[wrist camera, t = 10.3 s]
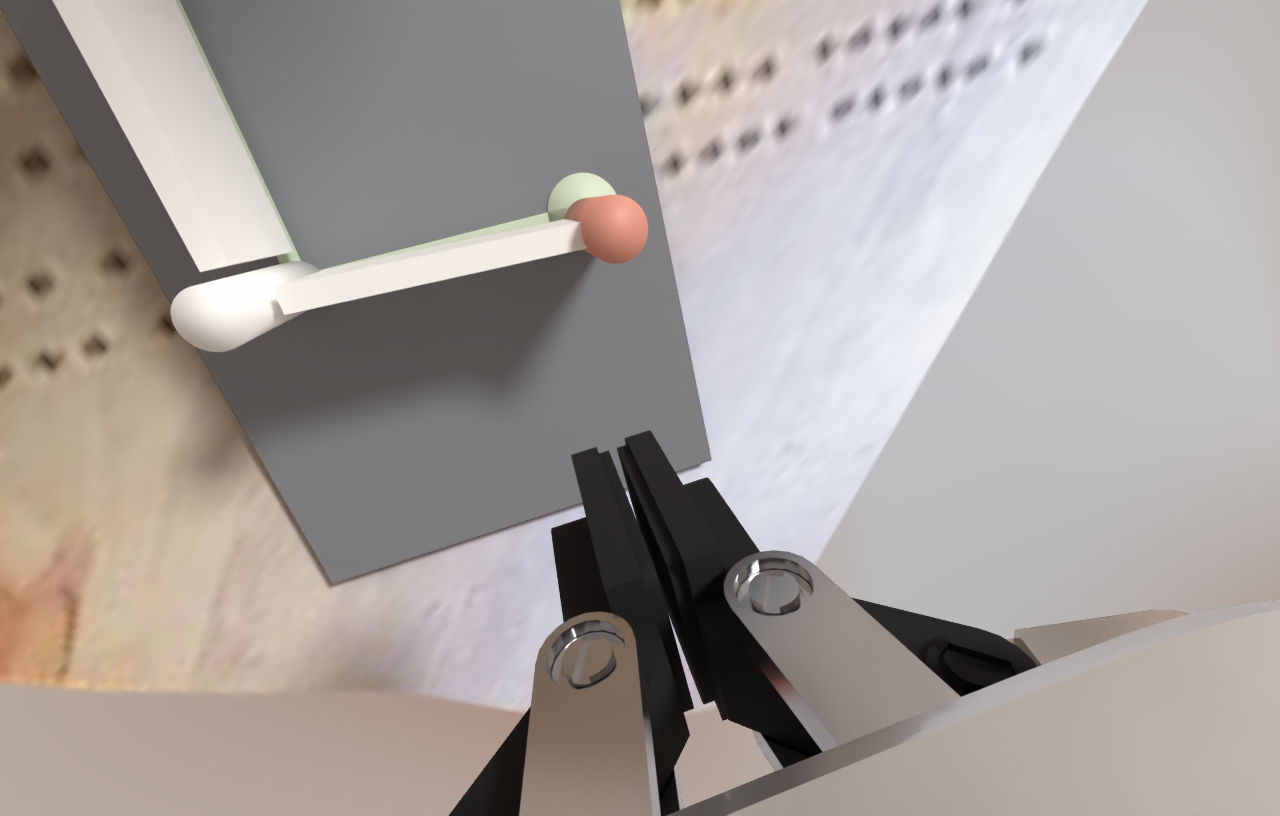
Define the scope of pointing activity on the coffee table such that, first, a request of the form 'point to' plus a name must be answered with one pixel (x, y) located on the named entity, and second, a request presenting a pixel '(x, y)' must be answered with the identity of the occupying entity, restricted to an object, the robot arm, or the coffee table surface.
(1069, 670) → the robot arm
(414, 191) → the card
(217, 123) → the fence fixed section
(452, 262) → the fence swing section
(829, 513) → the coffee table surface
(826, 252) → the coffee table surface
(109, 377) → the coffee table surface
